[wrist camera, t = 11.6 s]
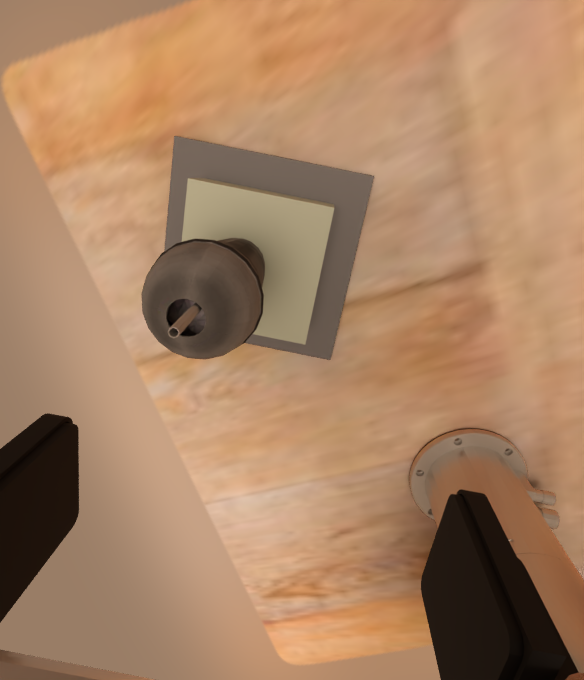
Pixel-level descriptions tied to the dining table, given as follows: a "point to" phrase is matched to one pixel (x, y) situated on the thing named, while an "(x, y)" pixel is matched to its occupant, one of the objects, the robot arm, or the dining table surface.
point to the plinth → (292, 184)
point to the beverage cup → (205, 296)
